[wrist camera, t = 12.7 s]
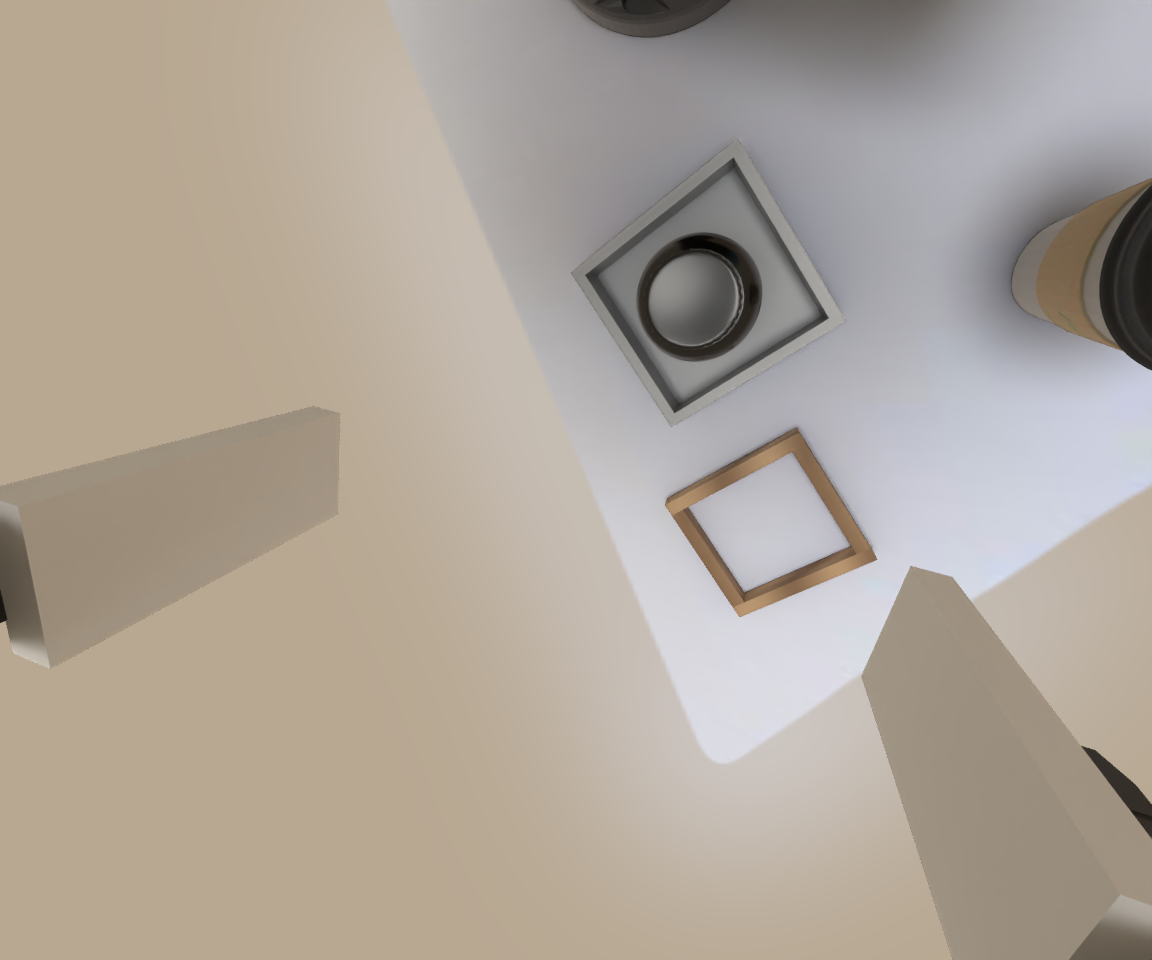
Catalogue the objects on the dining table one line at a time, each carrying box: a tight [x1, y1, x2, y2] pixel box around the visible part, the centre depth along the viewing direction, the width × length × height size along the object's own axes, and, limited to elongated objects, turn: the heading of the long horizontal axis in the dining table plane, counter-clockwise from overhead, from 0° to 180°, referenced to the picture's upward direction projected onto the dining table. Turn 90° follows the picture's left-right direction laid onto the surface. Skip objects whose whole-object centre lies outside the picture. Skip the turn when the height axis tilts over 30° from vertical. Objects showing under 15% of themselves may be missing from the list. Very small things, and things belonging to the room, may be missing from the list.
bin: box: [571, 138, 846, 427], centre depth 37 cm, size 12×12×4 cm
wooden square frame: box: [665, 428, 877, 617], centre depth 42 cm, size 11×11×2 cm
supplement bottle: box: [636, 232, 762, 362], centre depth 33 cm, size 7×7×12 cm
